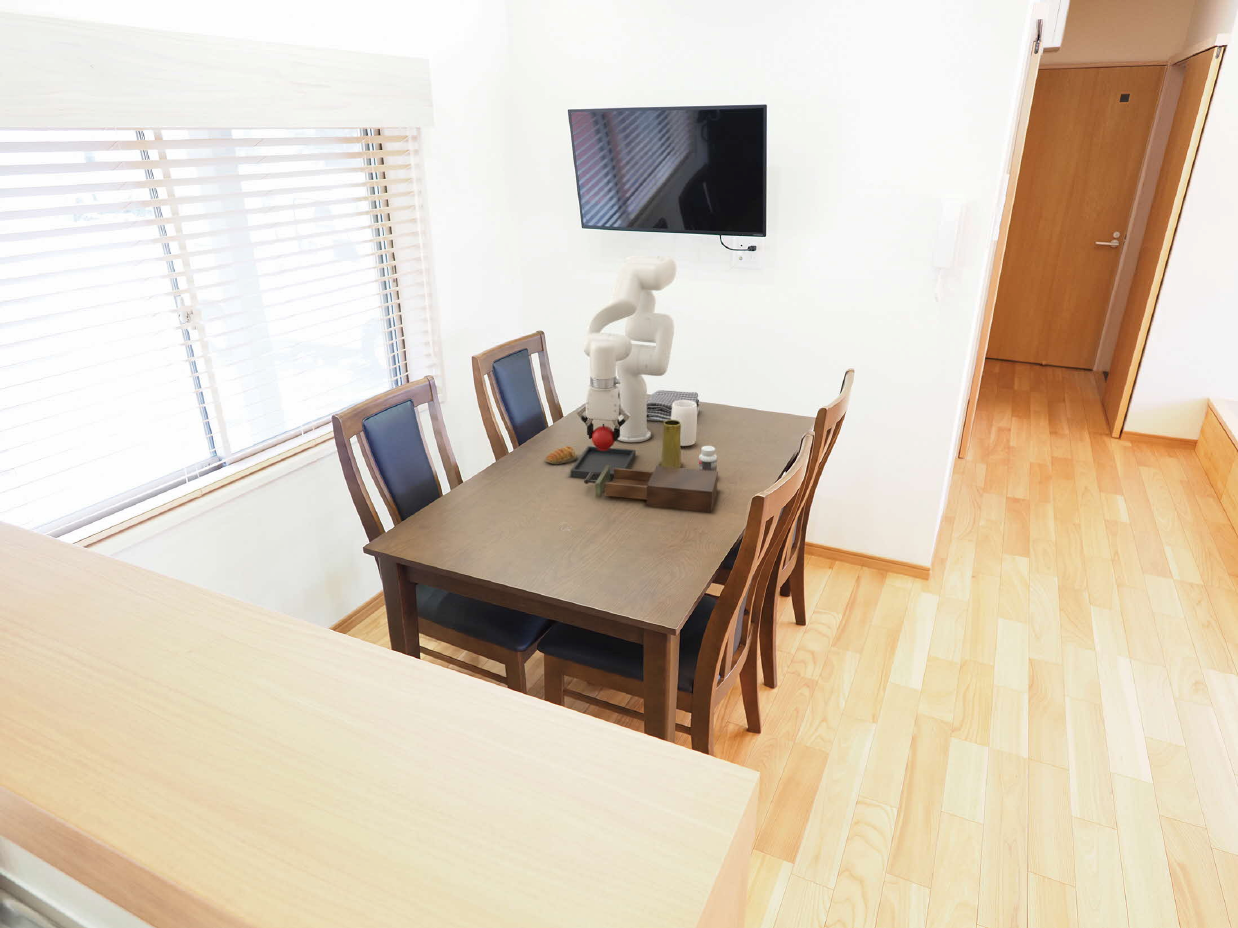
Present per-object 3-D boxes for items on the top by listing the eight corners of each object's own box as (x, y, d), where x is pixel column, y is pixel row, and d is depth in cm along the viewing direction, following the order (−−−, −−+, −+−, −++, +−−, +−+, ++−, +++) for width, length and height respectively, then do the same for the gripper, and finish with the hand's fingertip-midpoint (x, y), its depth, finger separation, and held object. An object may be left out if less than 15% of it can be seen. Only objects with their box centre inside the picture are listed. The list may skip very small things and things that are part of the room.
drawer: (581, 495, 221) (580, 481, 219) (592, 477, 232) (592, 463, 230) (653, 502, 216) (654, 488, 215) (662, 484, 228) (662, 470, 226)
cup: (701, 444, 258) (703, 403, 252) (685, 451, 252) (686, 410, 247) (681, 438, 263) (682, 397, 258) (665, 445, 258) (665, 404, 252)
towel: (652, 407, 292) (652, 387, 289) (701, 411, 287) (702, 391, 284) (642, 421, 278) (642, 400, 275) (693, 426, 274) (693, 404, 271)
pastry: (553, 467, 241) (553, 456, 240) (541, 461, 246) (541, 449, 244) (578, 460, 246) (578, 448, 245) (566, 453, 251) (565, 442, 250)
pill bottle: (694, 479, 233) (695, 448, 229) (704, 473, 237) (705, 443, 233) (709, 483, 230) (710, 453, 226) (719, 478, 233) (721, 447, 230)
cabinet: (646, 506, 217) (646, 485, 214) (655, 485, 229) (656, 465, 226) (711, 512, 213) (712, 491, 210) (716, 491, 225) (717, 471, 223)
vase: (675, 471, 238) (676, 427, 232) (657, 467, 241) (658, 423, 235) (684, 464, 243) (685, 421, 237) (667, 460, 246) (668, 417, 240)
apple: (595, 443, 243) (594, 419, 240) (617, 445, 242) (617, 420, 238) (589, 451, 237) (588, 427, 233) (612, 453, 235) (612, 428, 232)
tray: (588, 452, 252) (587, 445, 251) (635, 456, 249) (635, 449, 248) (570, 477, 235) (570, 470, 234) (621, 481, 231) (621, 474, 230)
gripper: (634, 380, 232) (634, 436, 239) (578, 376, 236) (579, 432, 243) (629, 387, 226) (628, 445, 233) (571, 383, 229) (572, 440, 236)
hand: (603, 438), depth 238 cm, fingers closed on apple, 7 cm apart
